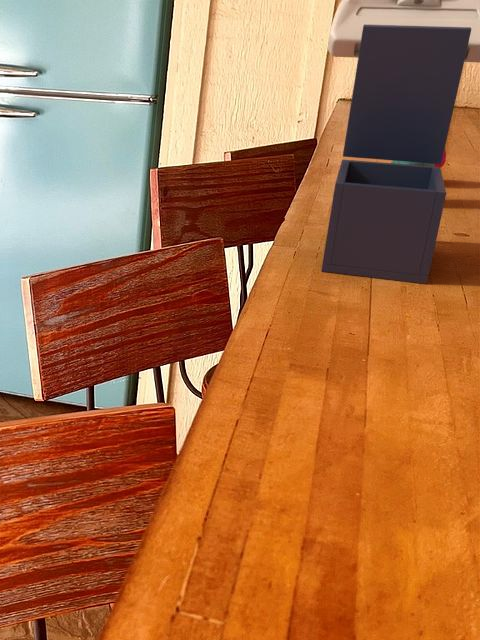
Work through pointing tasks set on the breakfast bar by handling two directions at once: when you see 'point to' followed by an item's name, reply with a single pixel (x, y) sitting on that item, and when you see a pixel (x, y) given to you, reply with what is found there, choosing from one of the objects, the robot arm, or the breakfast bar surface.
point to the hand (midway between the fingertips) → (405, 81)
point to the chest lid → (405, 92)
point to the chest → (384, 220)
